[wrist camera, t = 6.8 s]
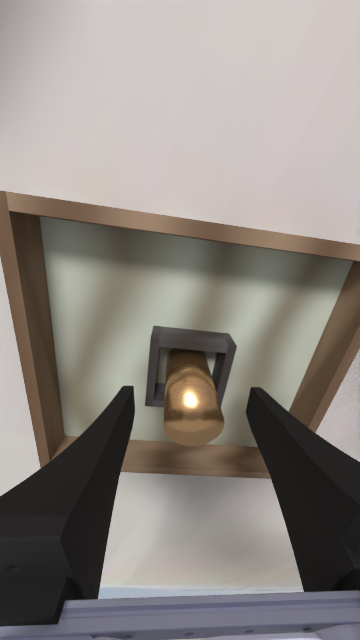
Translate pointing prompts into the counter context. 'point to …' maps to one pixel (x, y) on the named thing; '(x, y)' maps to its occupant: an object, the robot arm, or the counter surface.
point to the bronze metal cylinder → (191, 399)
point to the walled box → (172, 323)
